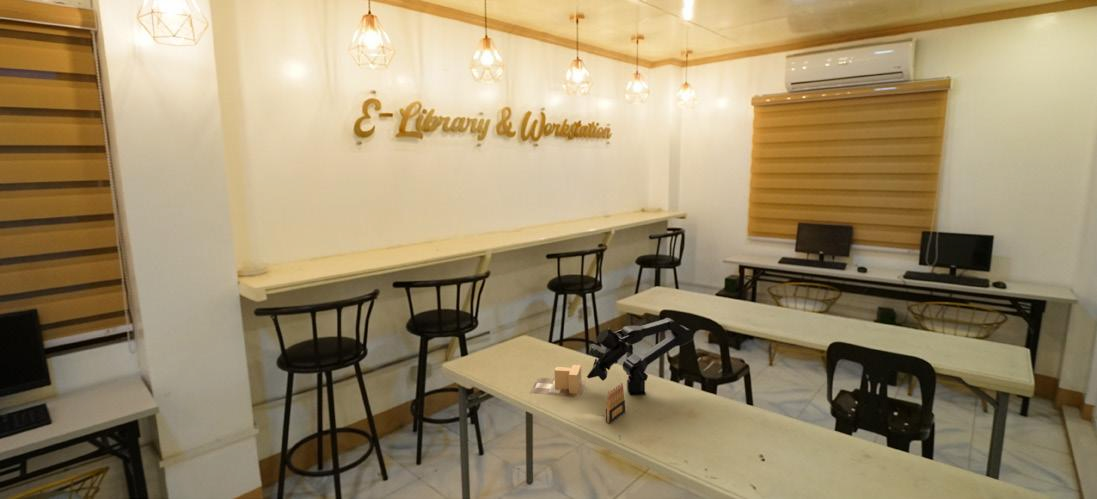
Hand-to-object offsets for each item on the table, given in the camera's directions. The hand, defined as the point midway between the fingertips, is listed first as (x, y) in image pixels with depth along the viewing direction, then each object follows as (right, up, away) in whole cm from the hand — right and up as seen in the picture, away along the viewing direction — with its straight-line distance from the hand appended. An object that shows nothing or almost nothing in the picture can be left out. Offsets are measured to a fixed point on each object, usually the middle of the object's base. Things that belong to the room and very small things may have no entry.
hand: (587, 377), depth 213 cm
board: (-12, -6, +4) cm, 14 cm away
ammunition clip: (+9, -10, -19) cm, 24 cm away
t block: (-8, -5, +3) cm, 10 cm away
